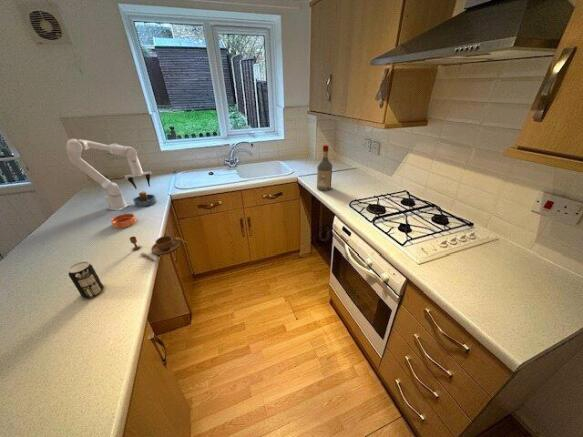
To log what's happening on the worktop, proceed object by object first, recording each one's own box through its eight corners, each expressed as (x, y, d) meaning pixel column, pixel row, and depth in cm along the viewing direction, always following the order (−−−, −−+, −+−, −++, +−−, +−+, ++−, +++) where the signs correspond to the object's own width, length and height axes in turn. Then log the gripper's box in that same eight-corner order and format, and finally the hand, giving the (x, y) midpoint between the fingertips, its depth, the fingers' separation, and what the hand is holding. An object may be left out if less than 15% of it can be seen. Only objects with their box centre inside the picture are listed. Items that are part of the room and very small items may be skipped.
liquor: (329, 191, 166) (331, 147, 151) (316, 190, 168) (317, 146, 154) (331, 186, 173) (333, 144, 159) (319, 185, 176) (320, 143, 161)
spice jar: (141, 204, 154) (137, 193, 151) (145, 201, 158) (141, 191, 154) (146, 204, 154) (142, 193, 150) (150, 201, 157) (147, 191, 153)
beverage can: (90, 286, 90) (75, 261, 85) (108, 285, 91) (94, 260, 85) (77, 299, 85) (61, 274, 79) (97, 298, 85) (82, 272, 79)
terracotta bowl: (108, 228, 128) (105, 222, 126) (124, 219, 138) (122, 212, 136) (126, 230, 126) (123, 223, 125) (141, 220, 136) (139, 214, 134)
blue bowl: (131, 207, 152) (128, 201, 150) (144, 199, 162) (142, 194, 160) (147, 208, 150) (145, 202, 148) (160, 200, 160) (158, 194, 158)
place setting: (155, 263, 101) (151, 252, 98) (130, 249, 111) (126, 239, 108) (190, 243, 114) (187, 232, 111) (165, 232, 124) (162, 222, 121)
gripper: (121, 170, 143) (129, 191, 150) (148, 166, 150) (155, 186, 156) (122, 167, 149) (130, 188, 155) (148, 163, 155) (154, 183, 162)
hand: (142, 187), depth 156 cm, fingers open, 7 cm apart
